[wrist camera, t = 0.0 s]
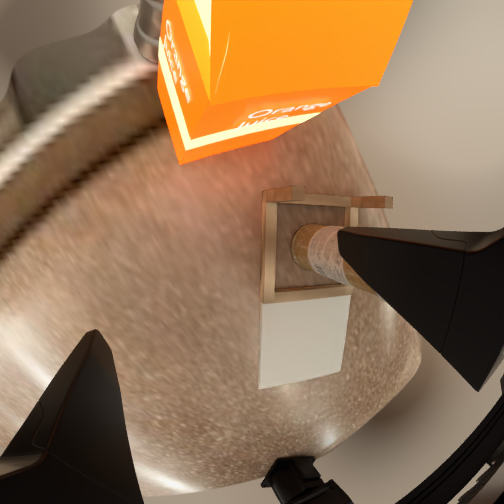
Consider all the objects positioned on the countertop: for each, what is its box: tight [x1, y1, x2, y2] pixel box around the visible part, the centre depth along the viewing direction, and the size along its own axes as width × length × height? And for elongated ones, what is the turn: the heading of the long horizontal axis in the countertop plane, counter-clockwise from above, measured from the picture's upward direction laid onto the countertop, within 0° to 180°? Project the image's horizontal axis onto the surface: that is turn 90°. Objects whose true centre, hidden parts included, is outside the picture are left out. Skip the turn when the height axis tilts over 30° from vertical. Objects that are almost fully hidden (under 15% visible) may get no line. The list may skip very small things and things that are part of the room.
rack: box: [260, 186, 393, 304], centre depth 25 cm, size 10×10×6 cm
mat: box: [257, 295, 351, 389], centre depth 29 cm, size 10×10×1 cm
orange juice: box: [157, 0, 413, 165], centre depth 14 cm, size 8×9×20 cm
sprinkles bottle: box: [291, 224, 386, 302], centre depth 21 cm, size 5×5×13 cm
